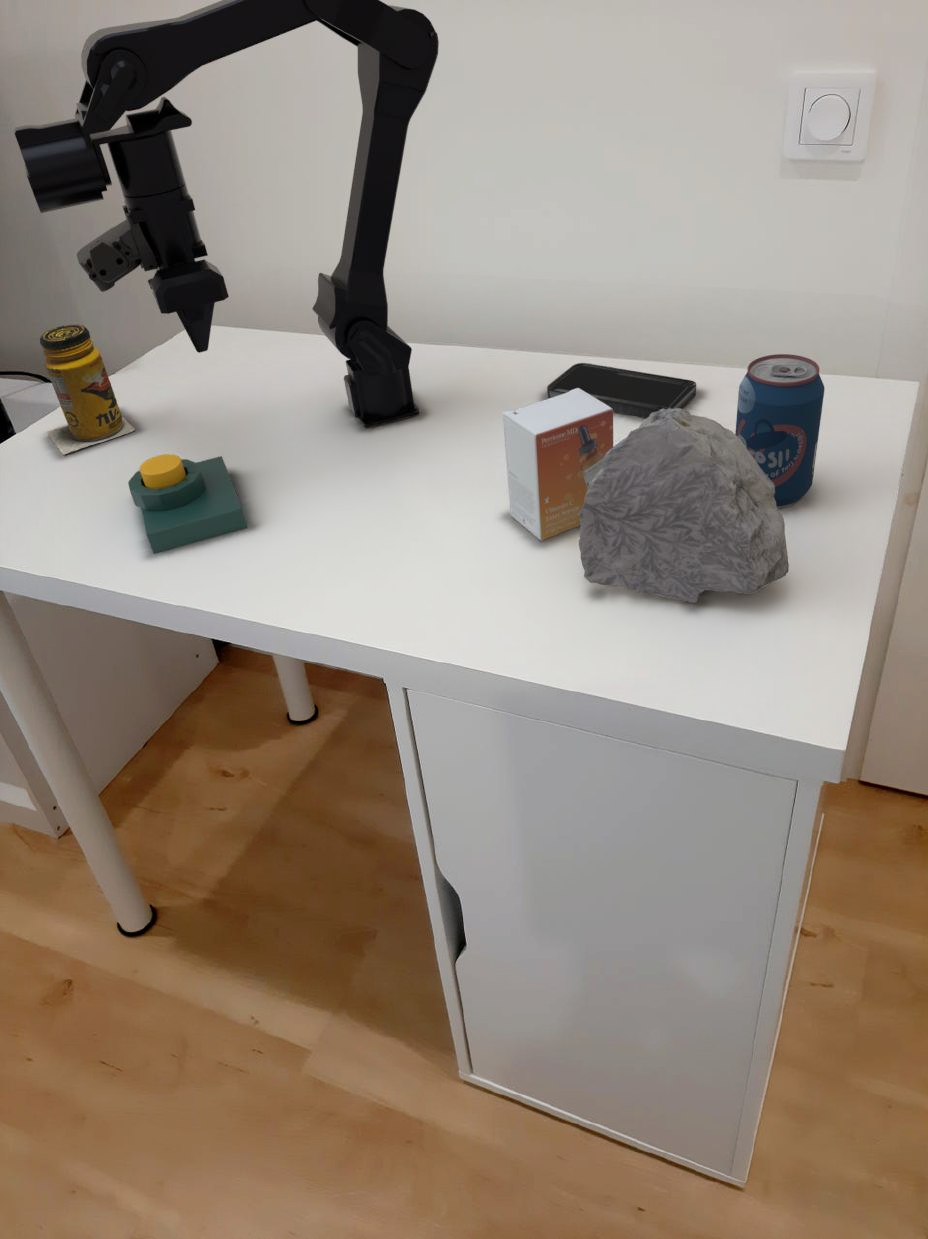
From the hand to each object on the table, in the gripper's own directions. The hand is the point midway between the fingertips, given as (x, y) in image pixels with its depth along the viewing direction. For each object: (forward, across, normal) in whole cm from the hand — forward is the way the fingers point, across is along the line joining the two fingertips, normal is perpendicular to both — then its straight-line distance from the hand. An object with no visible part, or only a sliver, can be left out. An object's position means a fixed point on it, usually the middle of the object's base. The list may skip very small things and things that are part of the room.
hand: (202, 350), depth 99 cm
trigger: (+8, +9, -7) cm, 14 cm away
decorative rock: (+12, +44, +29) cm, 54 cm away
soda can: (+12, +36, +43) cm, 58 cm away
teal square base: (+12, +10, -6) cm, 17 cm away
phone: (+12, +11, +42) cm, 45 cm away
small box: (+12, +30, +25) cm, 41 cm away
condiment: (+12, -15, -14) cm, 24 cm away
